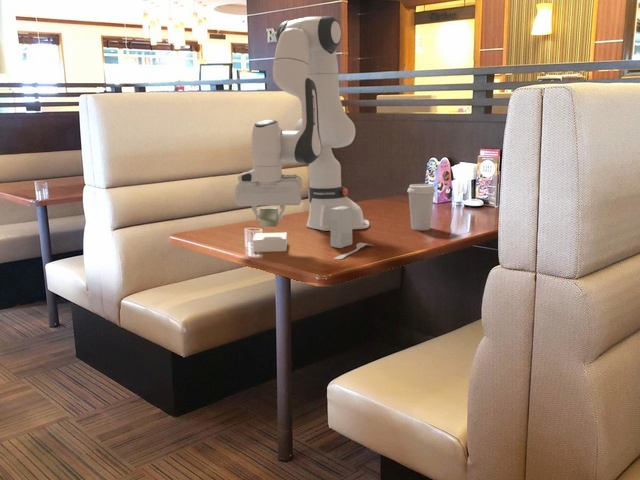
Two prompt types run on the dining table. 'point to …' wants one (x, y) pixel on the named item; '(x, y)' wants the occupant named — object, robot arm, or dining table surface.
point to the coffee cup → (421, 205)
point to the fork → (352, 251)
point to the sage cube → (268, 217)
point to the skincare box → (341, 226)
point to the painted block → (269, 242)
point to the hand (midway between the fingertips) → (269, 219)
